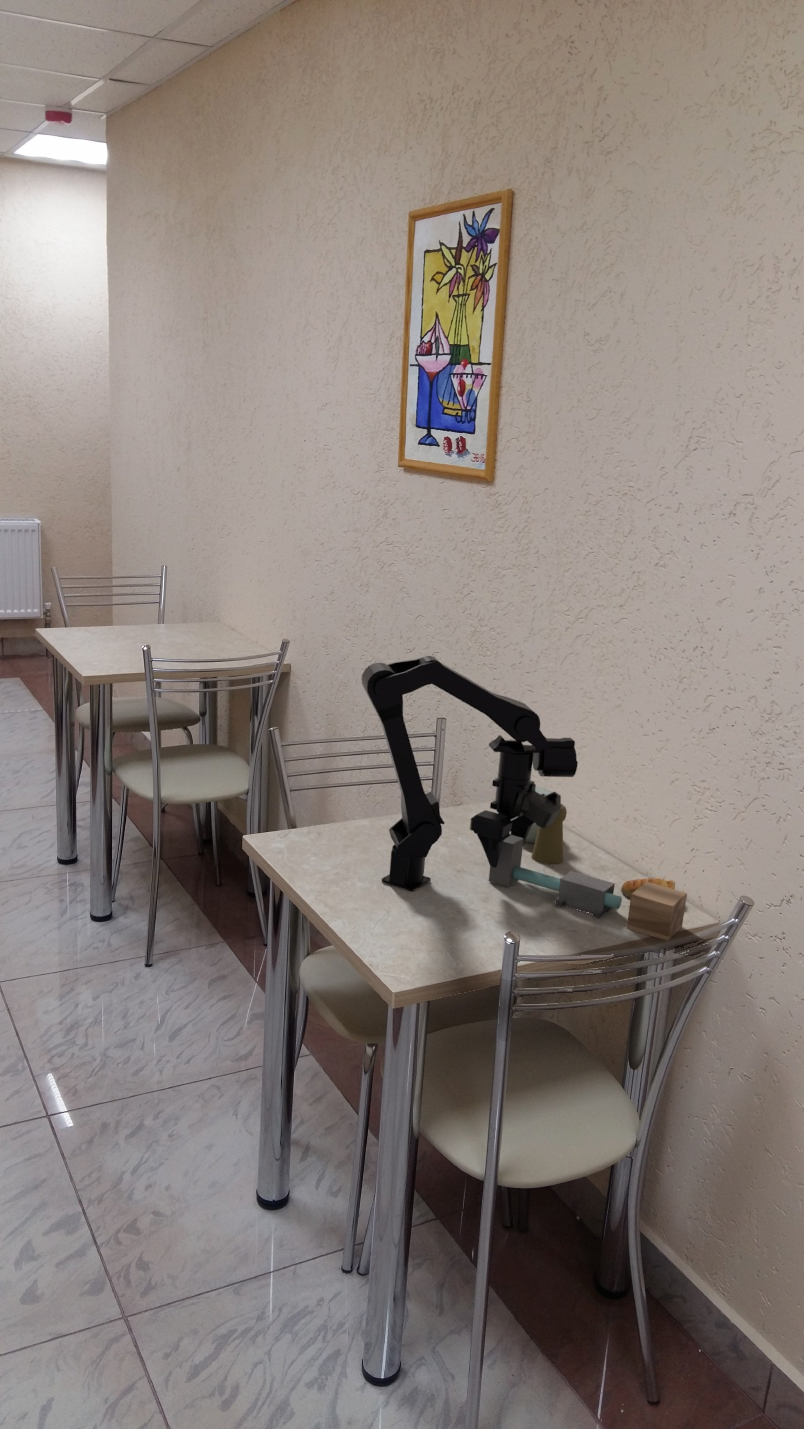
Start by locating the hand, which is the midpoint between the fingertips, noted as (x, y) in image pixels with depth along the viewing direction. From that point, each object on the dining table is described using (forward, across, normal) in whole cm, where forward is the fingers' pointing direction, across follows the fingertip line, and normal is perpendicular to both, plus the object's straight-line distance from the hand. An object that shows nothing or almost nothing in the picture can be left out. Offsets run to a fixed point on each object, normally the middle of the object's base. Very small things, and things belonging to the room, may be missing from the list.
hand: (505, 859), depth 195 cm
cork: (+4, +16, -1) cm, 17 cm away
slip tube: (+4, 0, -10) cm, 11 cm away
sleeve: (+4, 0, -16) cm, 16 cm away
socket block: (+4, 0, -28) cm, 28 cm away
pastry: (+5, +12, -23) cm, 27 cm away
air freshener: (+4, +24, +6) cm, 25 cm away
